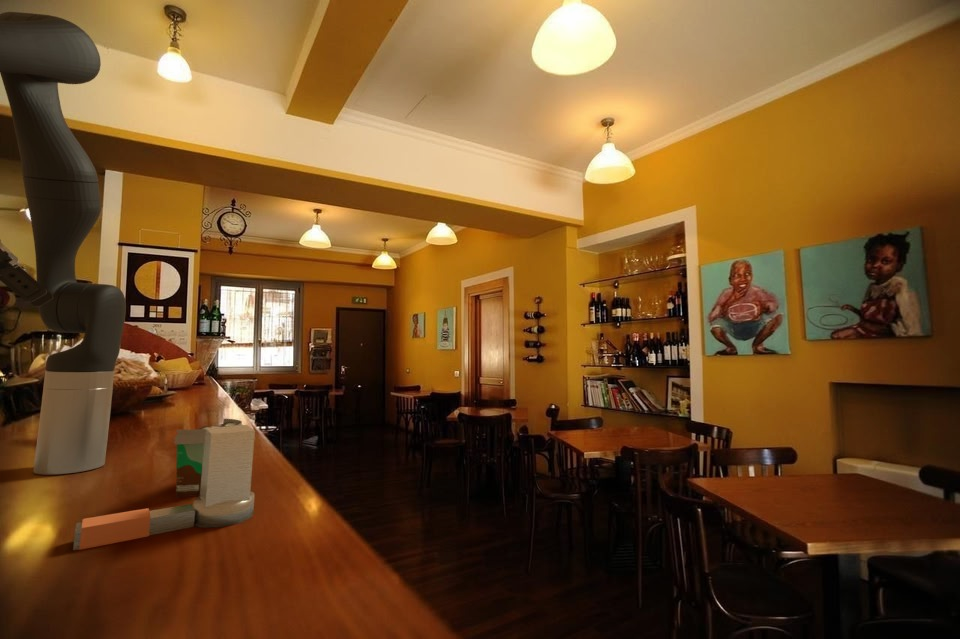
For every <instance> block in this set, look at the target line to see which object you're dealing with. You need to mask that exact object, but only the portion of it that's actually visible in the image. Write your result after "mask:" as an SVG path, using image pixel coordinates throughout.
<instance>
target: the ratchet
mask: <svg viewBox="0 0 960 639" xmlns="http://www.w3.org/2000/svg"><path fill="white" fill-rule="evenodd" d="M255 496H256V494H255V492H253V491H251V490H250V500H245V501H239V502H233V503H227V504H221V505H216V506H210V507H205V506H204V504H203V502H202V500H201V498H200V496H198V497H197V498H195V499H194V500H193V503H188V504H183V505H182V504H181V505H178V506H172V507H171V506H170V507H165V508H160V509H153V510H150V509H149V507H148V508H142V509H136V510H135V509H134V510H129V511H124V512H117V513H111V514H105V515H98V516H94V517H92V516H91V517H86V518H83V519H82V522H81V521H80V522H77V523H76V525H75V530H74V537H73V538H74V539H73V548H72V551H76V550H79V551H80V550H86V549H90V548H95V547H101V546H106V545H111V544H115V543H116V544H117V543H120V542H126V541H131V540H136V539H141V538H146V537H149V536H154V535H159V534H163V533H169V532H173V531H179V530H184V529H189V528H194V527H199V528H205V529H206V528H209V529H210V528H212V529H213V528H221V527H222V528H223V527H229V526H233V525H236V524H240V523H243V522H245V521H247V520H249V519H250V518H252V517H253V516H254V511H255V510H254V509H255V508H254V506H255Z"/></svg>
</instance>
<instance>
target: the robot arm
mask: <svg viewBox="0 0 960 639" xmlns="http://www.w3.org/2000/svg"><path fill="white" fill-rule="evenodd" d="M100 71H101V56H100V52H99V50H98V47H97V45H96V44H95V42H94V40H93V39H92V38H91V37H90V35H89V34H88V33H87V32H86V31H85V30H84V29H82V28H81V27H80V26H78V25H77V24H75V23H73V22H71V21H70V20H67V19H65V18H62V17H59V16H55V15H51V14H43V13H42V14H41V13H39V14H38V13H30V12H20V11H19V12H18V11H5V12H1V13H0V77H1V80H2V84H3V87H4V90H5V93H6V97H7V101H8V103H9V108H10V113H11V117H12V121H13V126H14V133H15V137H16V140H17V141H16V142H17V147H18V152H19V157H20V166H21V174H22V180H23V186H24V187H23V188H24V193H25V199H26V202H27V208H28V212H29V217H30V223H31V229H32V236H33V242H34V243H33V244H34V252H35V269H36V272H35V273H36V279H35V278H34V277H33V276H31V275H30V273H29V271H28V269H26V268H25V267H24V266H21V265H19V263H18V261H19V259H18V257H17V256H16V255H15V254H14V253H13V252H11V250H10V249H9V248H8V247H7V246H5V245H4V244H3V243H2V240H1V239H0V282H2V283H3V284H4V285H5V286H6V287H8V289H10V290H11V291H12V292H14V294H16V295H17V296H18V297H20V299H22V301H25V302H26V303H30V304H31V305H33V306H35V307H38V312H39V316H40V318H41V320H42V322H43V324H44V325H45V326H46V328H47V329H49V330H50V331H53V332H57V333H67V334H71V333H72V334H84V335H83V339H82V340H81V342H80V343H78V344H77V345H76V346H73V347H71V348H69V349H66V350H65V349H64V350H62V351H59V352H55V353H52V354H50V355H49V356H48V357H47V359H46V362H45V368H44V369H45V373H44V379H43V387H42V388H43V390H42V397H41V406H40V413H39V414H40V415H39V421H38V422H39V423H38V429H37V430H38V431H37V440H36V447H35V455H34V462H33V463H34V464H33V473H34V474H37V475H45V476H46V475H63V474H74V473H80V472H85V471H90V470H94V469H98V468H101V467H103V466H104V465H105V464H106V453H107V446H108V445H107V444H108V439H109V438H108V437H109V436H108V435H109V427H110V418H111V411H112V410H111V409H112V399H113V398H112V397H113V390H114V380H115V370H116V369H115V368H116V363H117V359H118V357H119V355H120V350H121V343H122V337H123V333H124V325H125V321H126V314H127V302H126V297H125V295H124V292H123V290H121V288H119V287H118V286H115V285H114V284H113V285H111V284H104V283H88V282H78V281H77V277H76V276H77V275H76V258H77V255H78V252H79V249H80V248H81V245H82V244H83V242H84V241H85V239H86V238H87V237H88V235H89V234H90V232H91V231H92V230H93V228H94V226H95V224H96V223H97V221H98V219H99V218H100V215H101V212H102V202H101V201H102V200H101V193H100V185H99V178H98V177H99V176H98V173H97V170H96V167H95V166H94V163H93V162H92V160H91V159H90V157H89V156H88V154H87V152H86V150H84V148H83V146H82V145H81V144H80V143H79V141H78V139H77V138H76V137H75V135H74V134H73V132H72V130H71V129H70V126H69V125H68V123H67V122H66V119H65V116H64V114H63V111H62V107H61V100H60V96H59V95H60V93H59V85H58V84H66V85H81V84H82V85H83V84H87V83H89V82H90V83H91V81H92V80H94V79H95V78H96V77H97V76H98V74H99V73H100Z"/></svg>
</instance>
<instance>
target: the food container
mask: <svg viewBox="0 0 960 639" xmlns="http://www.w3.org/2000/svg"><path fill="white" fill-rule="evenodd" d="M222 421H223V423H221V424H219V425H218V424H217V425H214V426H213V425H212V426H211V425H207V426H202V427H200V428H197V429H177V434H175V438H174V442H173V444H174V445H176V482H175V483H176V485H175V487H176V488H175V497H182V498H183V497H184V498H186V497H196V496H198V497H199V496H200V488H201V476H202V464H203V453H204V441H205V430H206V428H212V427H226V426H241V425H243V421H241V420H240V419H237V418H236V419H234V418H223V420H222Z"/></svg>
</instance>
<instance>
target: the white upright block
mask: <svg viewBox="0 0 960 639" xmlns="http://www.w3.org/2000/svg"><path fill="white" fill-rule="evenodd" d="M255 432H256V430H254V429H253V428H252V427H250V426H249V425H248V424H245V425H244V424H242V425H241V426H226V427H212V428H206V430H205V441H204V453H203V464H202V476H201V488H200V495H199V497H200V498H201V500H202V502H203V504H204V506H205V507H210V506H216V505H221V504H227V503H233V502H239V501H245V500H250V491H251V487H252V473H253V460H254V447H255V436H256V433H255Z"/></svg>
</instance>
